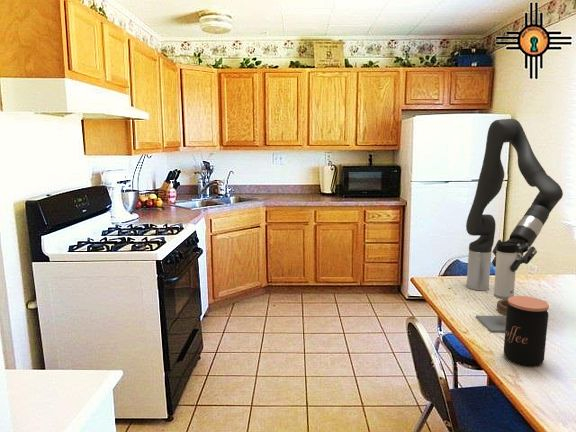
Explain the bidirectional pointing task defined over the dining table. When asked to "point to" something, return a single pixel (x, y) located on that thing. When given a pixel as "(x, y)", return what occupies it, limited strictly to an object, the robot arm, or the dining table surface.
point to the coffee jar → (526, 330)
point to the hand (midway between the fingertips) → (502, 267)
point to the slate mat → (493, 323)
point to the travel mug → (505, 270)
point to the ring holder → (502, 306)
